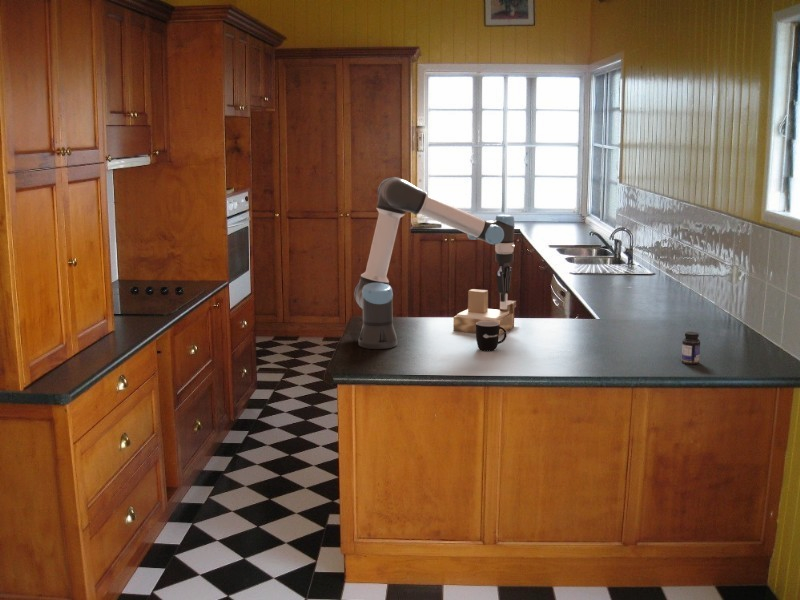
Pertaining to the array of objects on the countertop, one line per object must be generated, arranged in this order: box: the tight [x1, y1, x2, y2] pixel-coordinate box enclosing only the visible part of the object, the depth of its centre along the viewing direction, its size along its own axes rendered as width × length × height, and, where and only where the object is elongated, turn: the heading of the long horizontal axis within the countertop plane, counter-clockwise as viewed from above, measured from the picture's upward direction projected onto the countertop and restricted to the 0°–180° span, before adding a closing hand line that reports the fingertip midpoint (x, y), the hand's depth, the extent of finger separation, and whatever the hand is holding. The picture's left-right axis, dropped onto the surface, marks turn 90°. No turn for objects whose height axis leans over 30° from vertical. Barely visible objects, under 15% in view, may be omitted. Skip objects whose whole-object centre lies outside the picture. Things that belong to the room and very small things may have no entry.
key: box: [499, 299, 517, 311], centre depth 373 cm, size 4×11×2 cm, turn 153°
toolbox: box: [452, 302, 515, 337], centre depth 369 cm, size 20×18×10 cm
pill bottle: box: [681, 330, 701, 365], centre depth 316 cm, size 6×6×11 cm
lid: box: [456, 288, 509, 321], centre depth 367 cm, size 17×16×11 cm
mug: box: [475, 321, 507, 352], centre depth 336 cm, size 12×9×10 cm
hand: (503, 308), depth 368 cm, fingers closed
